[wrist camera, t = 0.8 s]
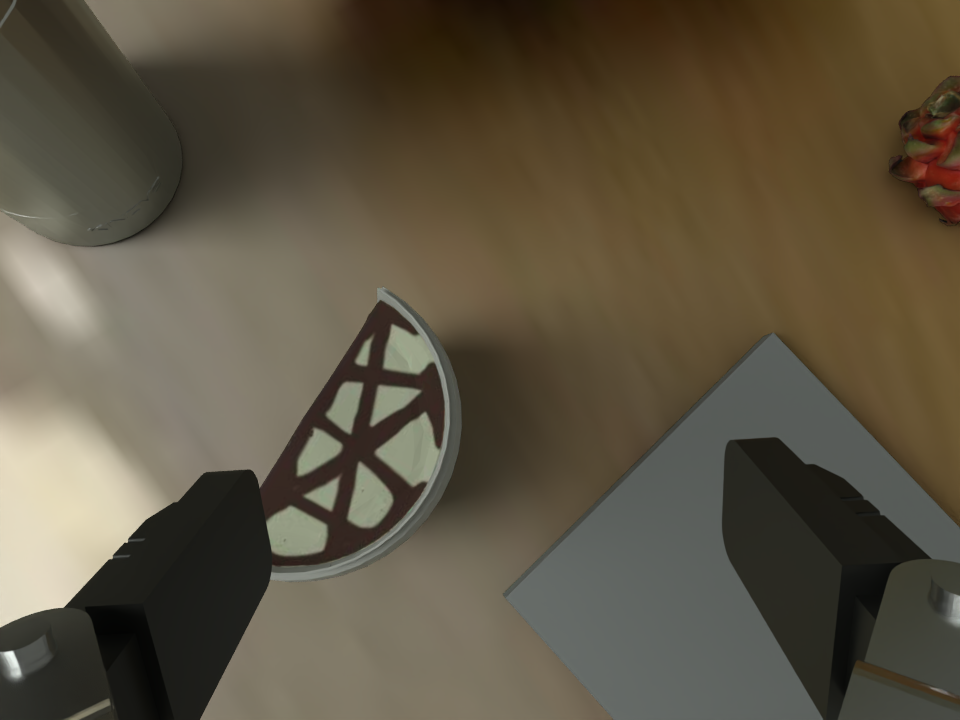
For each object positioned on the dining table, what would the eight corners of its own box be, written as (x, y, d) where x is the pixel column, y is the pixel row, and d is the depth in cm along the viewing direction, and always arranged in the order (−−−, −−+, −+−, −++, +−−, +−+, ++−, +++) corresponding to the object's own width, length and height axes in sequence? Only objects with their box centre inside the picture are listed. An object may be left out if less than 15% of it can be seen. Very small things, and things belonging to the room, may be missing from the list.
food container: (372, 601, 32) (351, 659, 23) (265, 538, 32) (198, 569, 23) (495, 388, 35) (525, 357, 25) (395, 329, 35) (385, 275, 25)
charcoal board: (503, 593, 33) (505, 598, 32) (763, 335, 36) (773, 332, 35) (752, 873, 32) (762, 886, 31) (996, 580, 35) (1012, 583, 34)
